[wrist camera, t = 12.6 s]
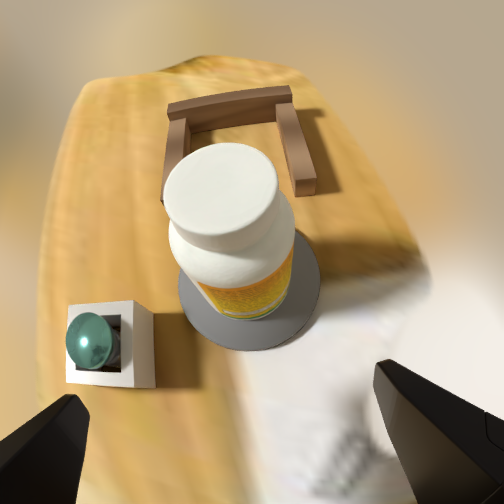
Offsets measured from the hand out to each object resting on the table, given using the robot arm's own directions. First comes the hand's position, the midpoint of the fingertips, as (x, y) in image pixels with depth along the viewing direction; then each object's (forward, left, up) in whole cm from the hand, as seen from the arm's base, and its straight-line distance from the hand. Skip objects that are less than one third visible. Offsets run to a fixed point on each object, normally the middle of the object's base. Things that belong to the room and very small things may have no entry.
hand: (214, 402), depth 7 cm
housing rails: (+18, -1, -10) cm, 21 cm away
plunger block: (+3, +8, -10) cm, 13 cm away
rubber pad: (+7, -1, -10) cm, 12 cm away
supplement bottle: (+7, -1, -9) cm, 12 cm away
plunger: (+3, +8, -9) cm, 13 cm away
